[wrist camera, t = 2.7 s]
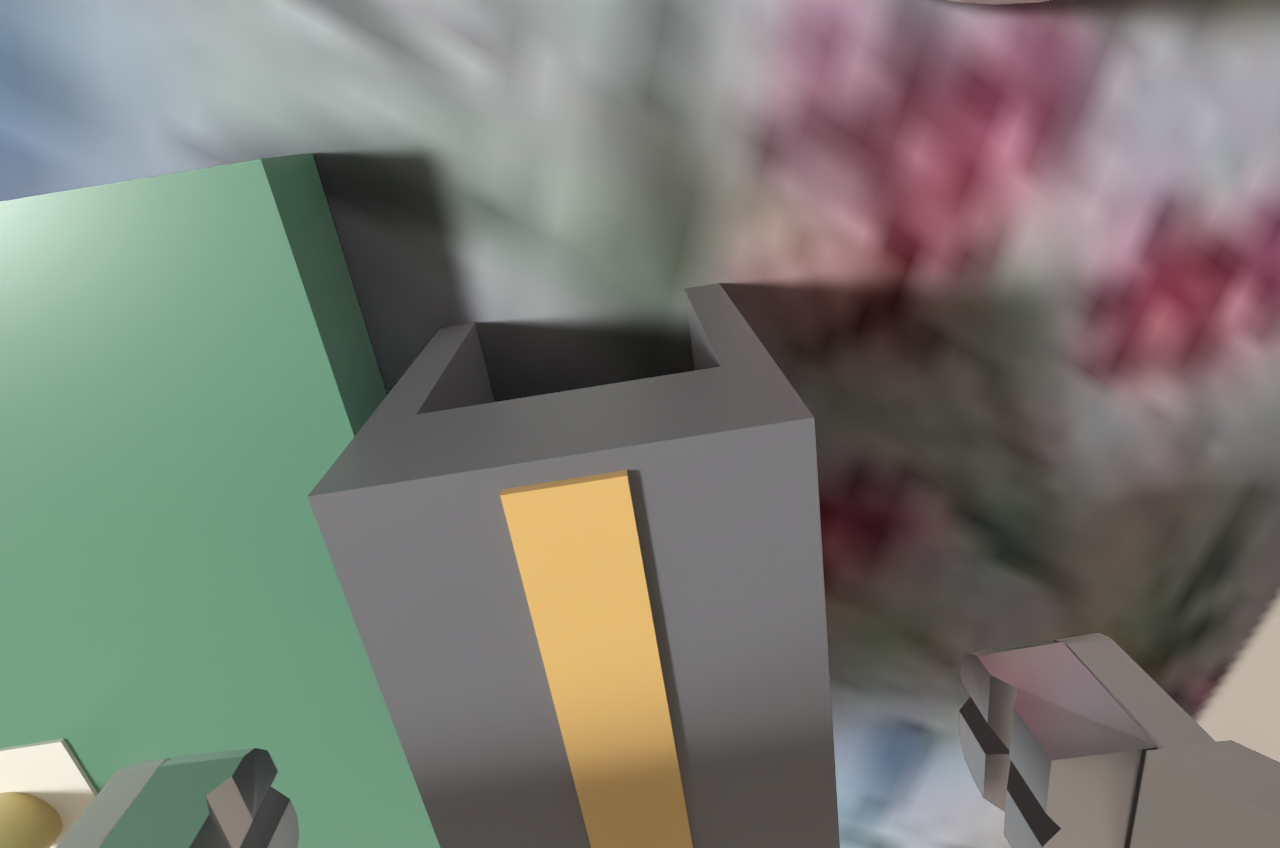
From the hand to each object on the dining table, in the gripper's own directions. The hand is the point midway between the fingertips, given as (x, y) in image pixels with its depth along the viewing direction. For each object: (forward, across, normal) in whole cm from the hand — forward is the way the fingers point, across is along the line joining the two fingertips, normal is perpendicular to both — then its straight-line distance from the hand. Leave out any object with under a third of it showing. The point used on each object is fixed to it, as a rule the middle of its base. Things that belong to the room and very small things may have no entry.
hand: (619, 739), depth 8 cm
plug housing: (+4, 0, -1) cm, 4 cm away
